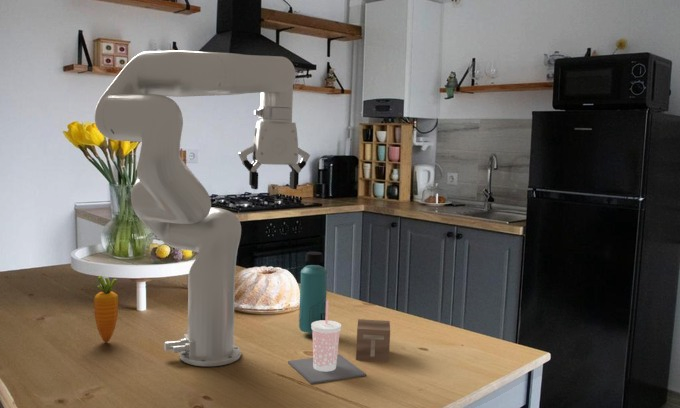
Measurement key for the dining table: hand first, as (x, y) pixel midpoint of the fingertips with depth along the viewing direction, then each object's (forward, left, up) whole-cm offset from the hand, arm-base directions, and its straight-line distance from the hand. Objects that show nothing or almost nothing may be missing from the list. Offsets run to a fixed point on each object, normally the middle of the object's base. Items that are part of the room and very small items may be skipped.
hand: (273, 188), depth 151 cm
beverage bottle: (+8, -8, -34) cm, 36 cm away
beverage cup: (+1, -28, -34) cm, 44 cm away
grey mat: (+2, -29, -34) cm, 45 cm away
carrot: (-37, +2, -34) cm, 51 cm away
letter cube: (+15, -25, -34) cm, 45 cm away
